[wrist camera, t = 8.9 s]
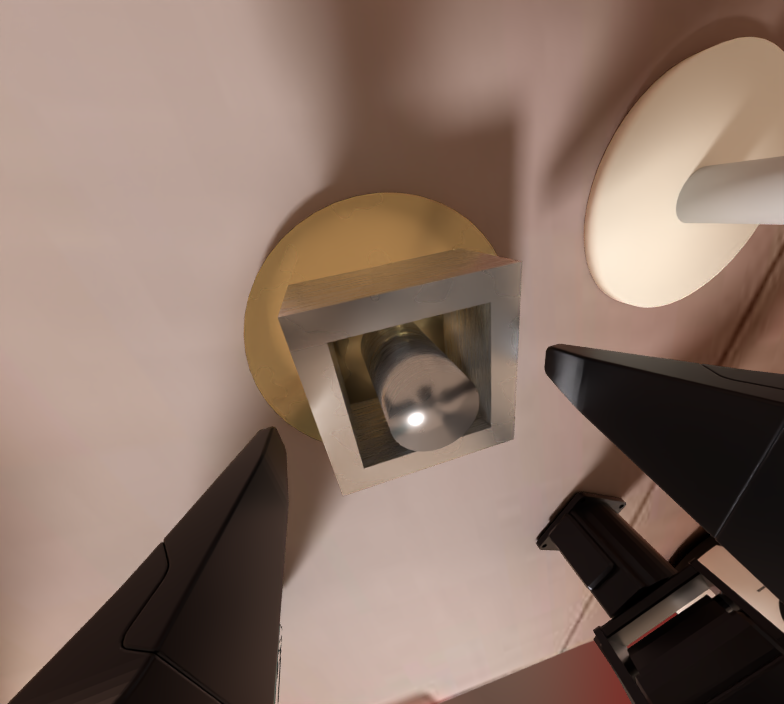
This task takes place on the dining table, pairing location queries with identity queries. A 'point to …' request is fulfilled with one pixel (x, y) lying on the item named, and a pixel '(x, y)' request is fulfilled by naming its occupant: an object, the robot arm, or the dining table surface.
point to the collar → (395, 307)
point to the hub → (374, 349)
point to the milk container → (735, 580)
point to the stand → (689, 175)
